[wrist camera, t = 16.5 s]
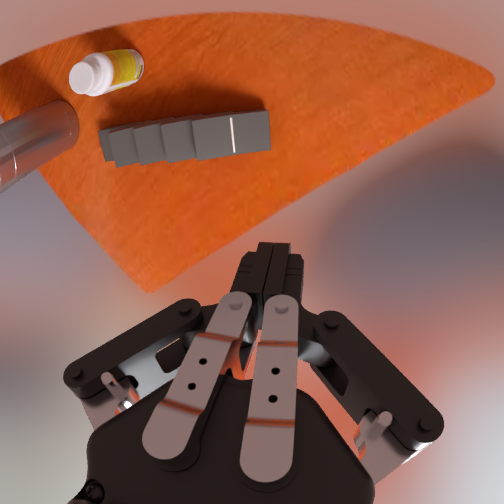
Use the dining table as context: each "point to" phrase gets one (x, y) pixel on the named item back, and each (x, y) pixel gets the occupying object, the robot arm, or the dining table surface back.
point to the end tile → (106, 141)
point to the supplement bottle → (106, 71)
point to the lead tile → (231, 134)
